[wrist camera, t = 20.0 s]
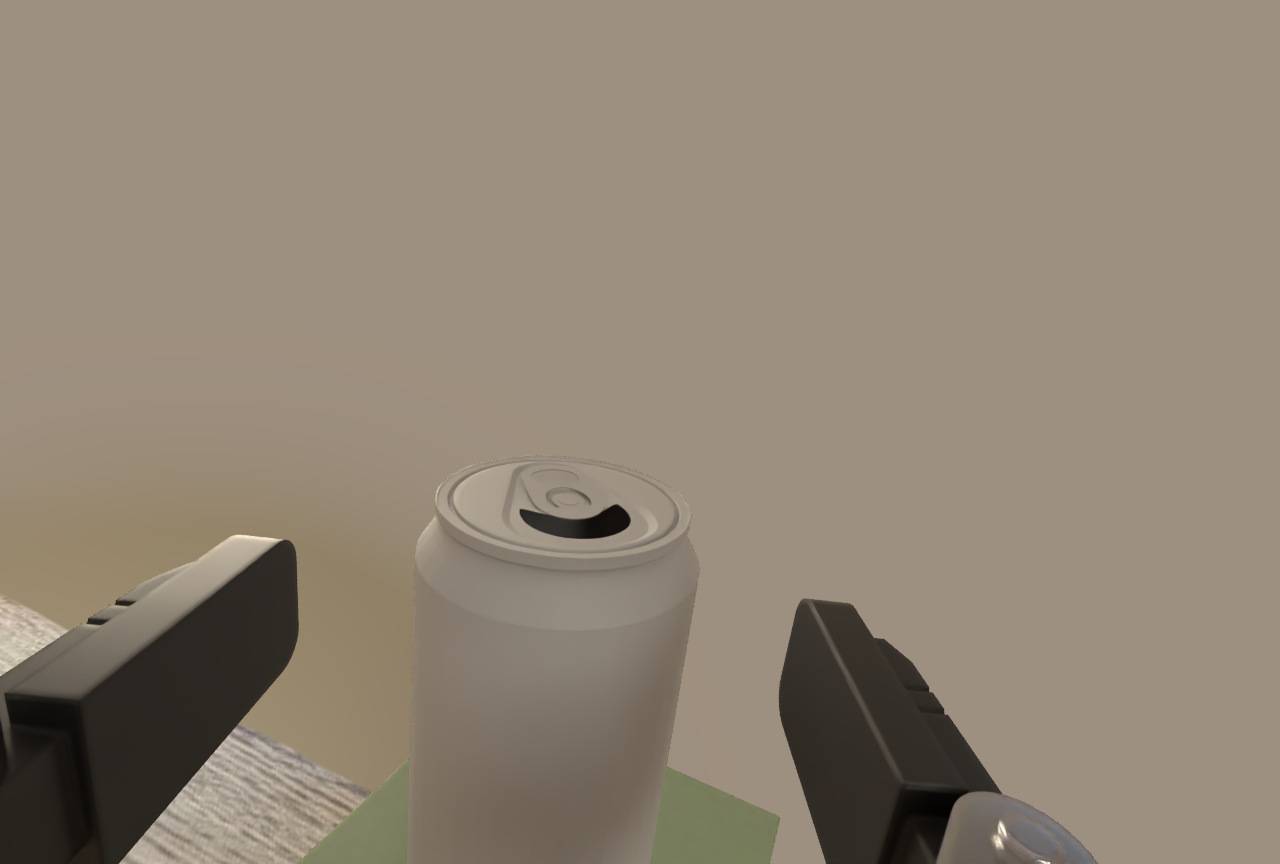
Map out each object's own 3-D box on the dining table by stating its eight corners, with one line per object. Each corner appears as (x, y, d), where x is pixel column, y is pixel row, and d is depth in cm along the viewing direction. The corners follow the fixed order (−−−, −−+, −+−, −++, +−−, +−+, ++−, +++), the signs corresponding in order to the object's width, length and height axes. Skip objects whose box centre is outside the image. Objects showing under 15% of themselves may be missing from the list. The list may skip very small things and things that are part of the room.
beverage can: (414, 1084, 13) (431, 581, 9) (399, 821, 18) (407, 446, 15) (681, 973, 15) (768, 548, 12) (597, 772, 21) (641, 445, 18)
